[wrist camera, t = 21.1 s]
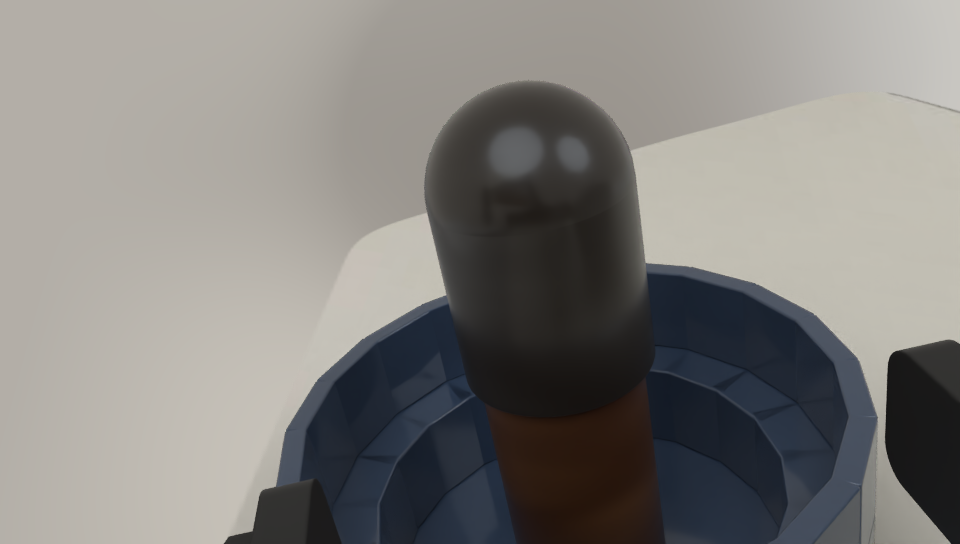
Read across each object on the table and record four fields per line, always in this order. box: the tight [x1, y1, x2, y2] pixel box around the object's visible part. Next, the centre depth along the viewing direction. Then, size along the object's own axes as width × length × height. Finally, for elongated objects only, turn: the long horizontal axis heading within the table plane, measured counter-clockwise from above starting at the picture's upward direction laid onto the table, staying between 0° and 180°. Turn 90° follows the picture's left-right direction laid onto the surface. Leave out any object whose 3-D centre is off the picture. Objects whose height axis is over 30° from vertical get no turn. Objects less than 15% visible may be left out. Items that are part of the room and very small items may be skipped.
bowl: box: [276, 263, 878, 544], centre depth 22 cm, size 14×14×6 cm
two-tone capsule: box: [424, 81, 666, 544], centre depth 20 cm, size 5×5×13 cm
